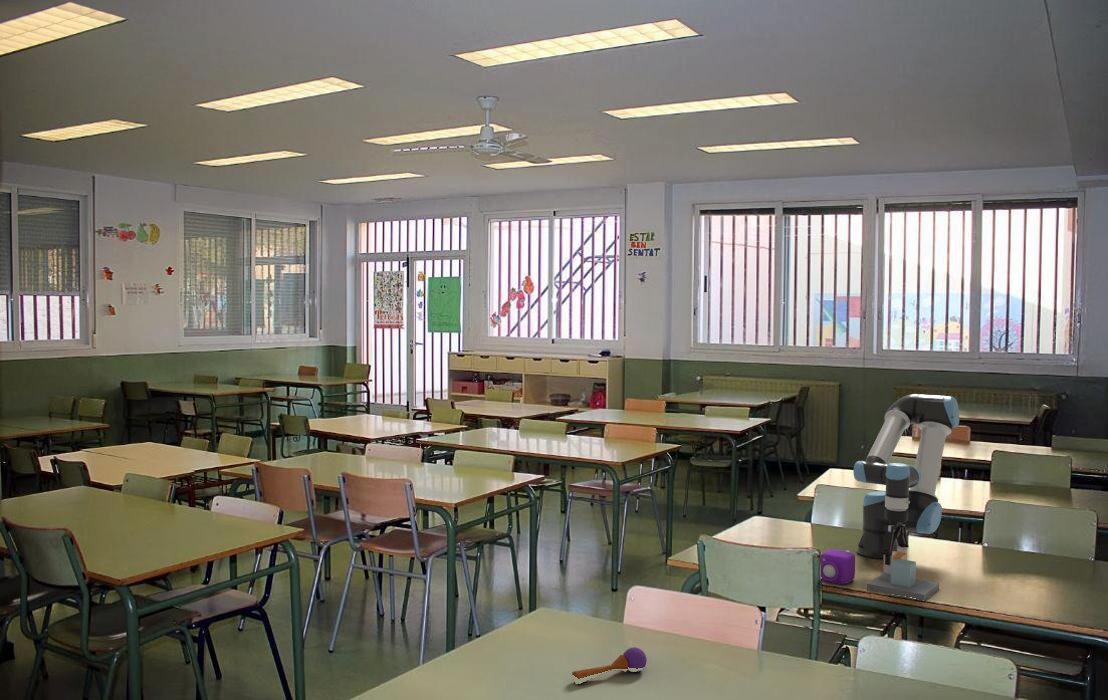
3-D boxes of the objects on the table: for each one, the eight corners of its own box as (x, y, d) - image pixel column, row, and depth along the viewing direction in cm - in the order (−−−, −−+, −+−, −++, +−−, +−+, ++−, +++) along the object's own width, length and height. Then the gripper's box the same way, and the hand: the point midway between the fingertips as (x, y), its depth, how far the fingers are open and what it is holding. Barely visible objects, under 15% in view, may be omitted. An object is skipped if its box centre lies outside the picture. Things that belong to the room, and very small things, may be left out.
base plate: (866, 589, 290) (866, 583, 290) (883, 578, 303) (883, 572, 303) (924, 601, 279) (924, 594, 279) (938, 589, 292) (939, 583, 291)
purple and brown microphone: (567, 663, 216) (635, 643, 225) (571, 688, 215) (639, 667, 225) (579, 667, 210) (649, 646, 220) (583, 693, 210) (652, 671, 220)
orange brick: (883, 573, 309) (883, 553, 308) (888, 570, 313) (889, 550, 313) (900, 577, 305) (901, 556, 305) (906, 573, 310) (906, 553, 309)
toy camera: (815, 584, 295) (815, 554, 295) (823, 574, 307) (824, 545, 307) (848, 589, 290) (849, 559, 290) (856, 578, 302) (856, 549, 302)
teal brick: (890, 583, 290) (891, 562, 290) (896, 579, 295) (897, 558, 295) (909, 587, 287) (910, 565, 286) (915, 582, 291) (915, 561, 291)
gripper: (896, 516, 296) (893, 579, 297) (918, 504, 316) (916, 564, 316) (873, 512, 301) (871, 575, 301) (897, 501, 320) (895, 560, 321)
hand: (894, 569), depth 309 cm, fingers open, 13 cm apart
